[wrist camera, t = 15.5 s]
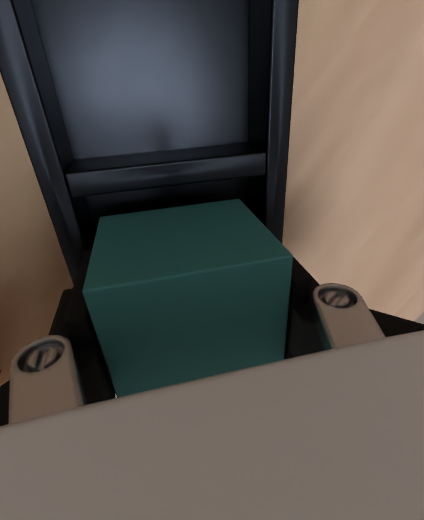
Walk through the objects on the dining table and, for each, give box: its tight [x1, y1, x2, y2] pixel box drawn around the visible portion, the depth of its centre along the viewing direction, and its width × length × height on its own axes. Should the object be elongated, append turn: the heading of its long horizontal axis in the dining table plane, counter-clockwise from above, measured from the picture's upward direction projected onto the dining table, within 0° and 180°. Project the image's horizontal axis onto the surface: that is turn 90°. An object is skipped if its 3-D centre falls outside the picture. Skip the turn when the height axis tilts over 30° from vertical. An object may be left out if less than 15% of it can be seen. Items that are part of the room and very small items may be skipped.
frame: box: [0, 0, 299, 284], centre depth 11 cm, size 8×15×3 cm, turn 3°
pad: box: [82, 199, 293, 398], centre depth 10 cm, size 5×5×4 cm
